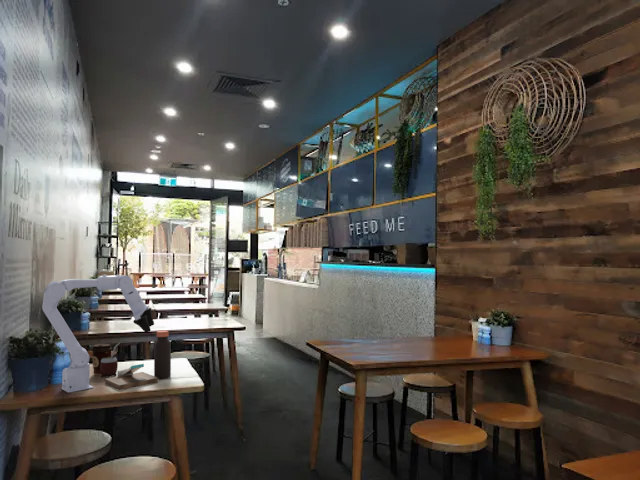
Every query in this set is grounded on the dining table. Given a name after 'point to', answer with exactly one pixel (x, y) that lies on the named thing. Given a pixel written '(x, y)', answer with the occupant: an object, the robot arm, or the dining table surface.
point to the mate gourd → (109, 365)
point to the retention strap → (132, 369)
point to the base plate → (130, 380)
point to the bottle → (162, 355)
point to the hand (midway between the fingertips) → (150, 328)
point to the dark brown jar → (100, 355)
